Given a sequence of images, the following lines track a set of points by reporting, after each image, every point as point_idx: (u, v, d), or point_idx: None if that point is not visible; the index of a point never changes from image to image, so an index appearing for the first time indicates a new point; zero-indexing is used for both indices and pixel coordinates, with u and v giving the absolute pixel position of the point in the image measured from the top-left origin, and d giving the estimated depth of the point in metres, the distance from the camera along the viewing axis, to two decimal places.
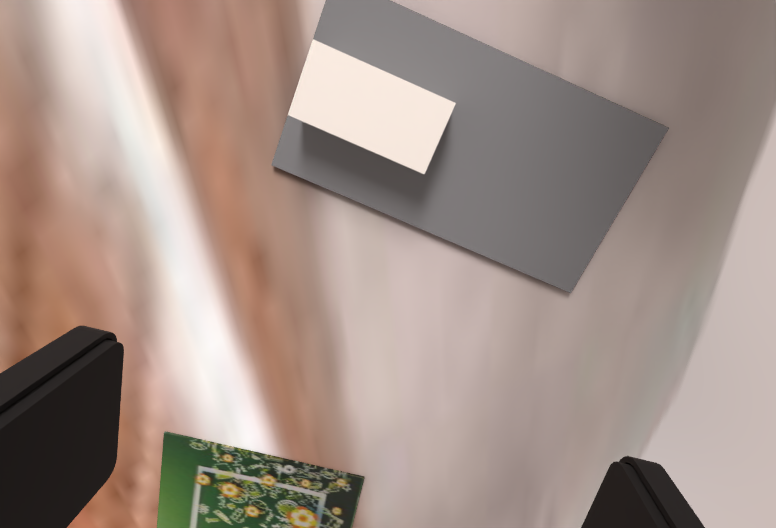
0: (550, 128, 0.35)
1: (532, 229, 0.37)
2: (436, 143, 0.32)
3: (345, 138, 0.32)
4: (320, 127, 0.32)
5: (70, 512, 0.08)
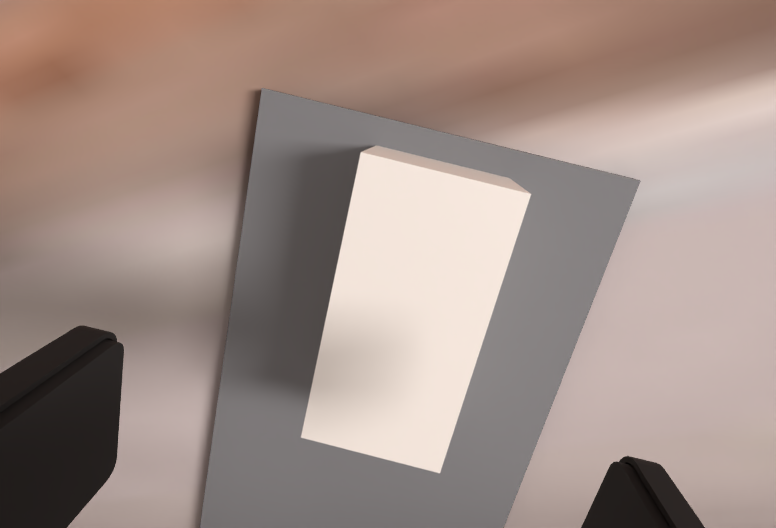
0: None
1: None
2: (362, 450, 0.16)
3: (335, 284, 0.15)
4: (347, 229, 0.14)
5: (70, 512, 0.08)
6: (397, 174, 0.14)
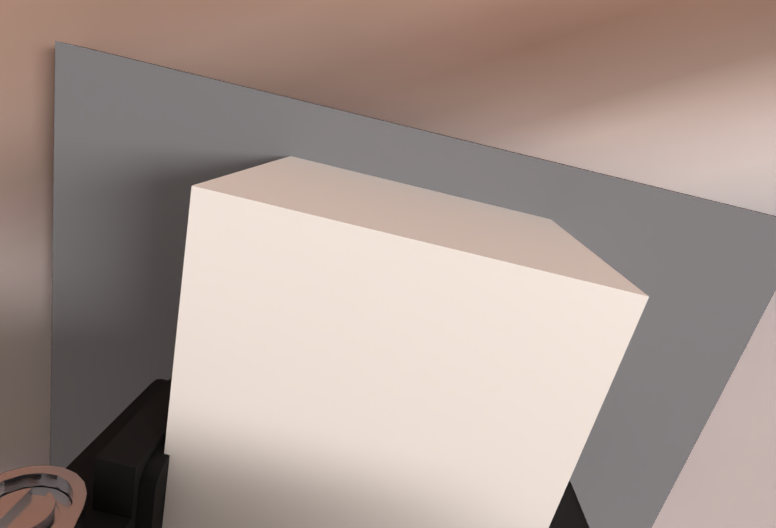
0: None
1: None
2: None
3: (167, 492, 0.06)
4: (180, 375, 0.06)
5: None
6: (293, 244, 0.05)
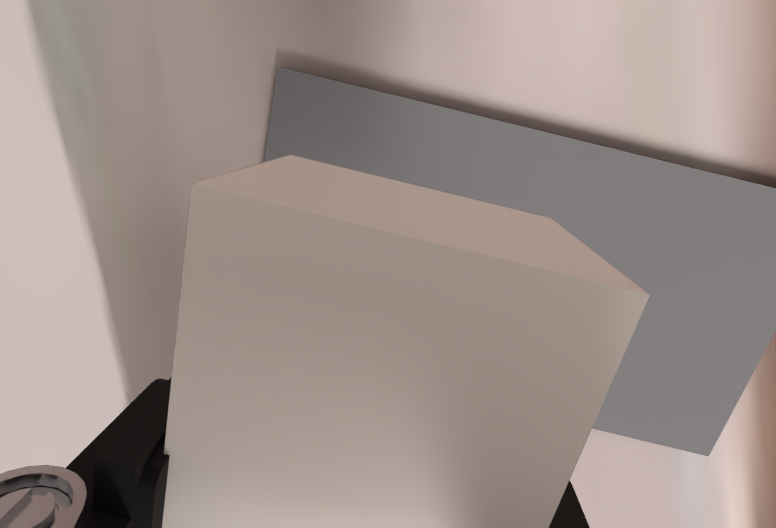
0: None
1: (376, 171, 0.22)
2: None
3: (167, 491, 0.06)
4: (179, 374, 0.06)
5: None
6: (293, 242, 0.05)
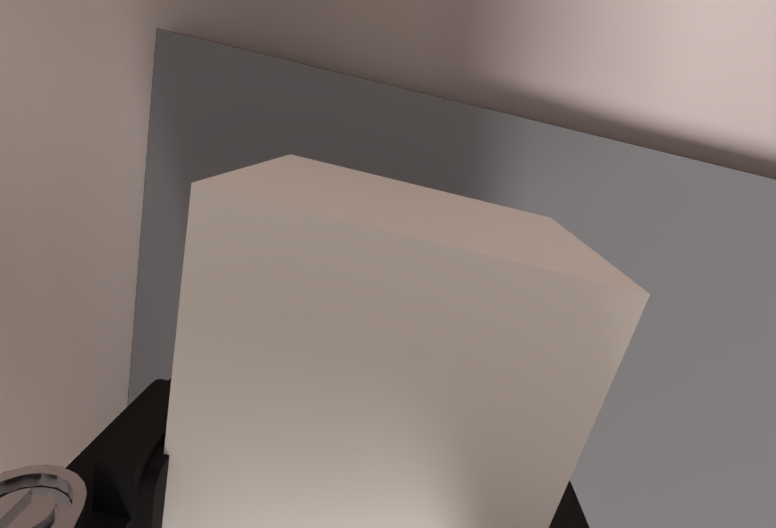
0: None
1: None
2: None
3: (167, 490, 0.06)
4: (179, 373, 0.06)
5: None
6: (293, 241, 0.05)
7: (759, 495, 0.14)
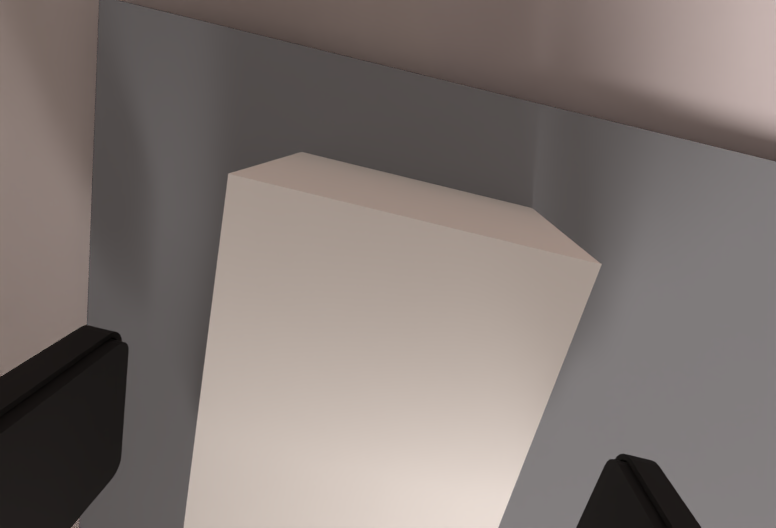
0: None
1: None
2: None
3: (201, 435, 0.07)
4: (214, 333, 0.07)
5: (76, 510, 0.08)
6: (310, 221, 0.06)
7: None
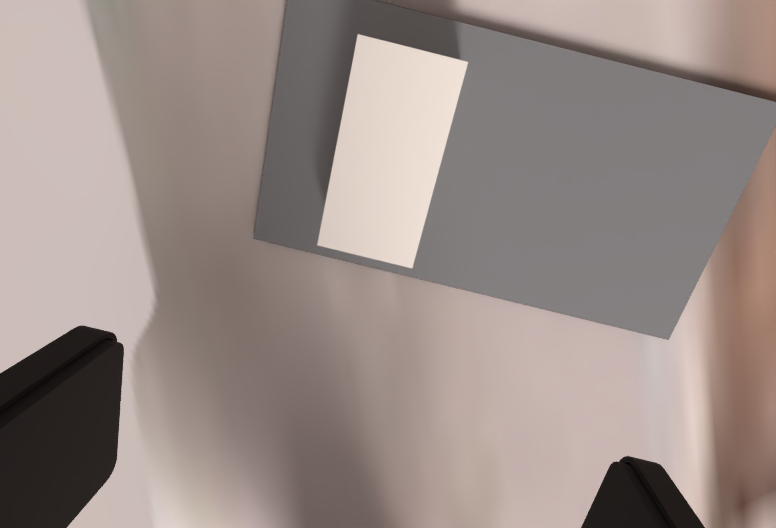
0: None
1: None
2: (359, 253, 0.24)
3: (341, 129, 0.22)
4: (349, 89, 0.22)
5: (70, 512, 0.08)
6: (381, 49, 0.21)
7: (591, 230, 0.27)
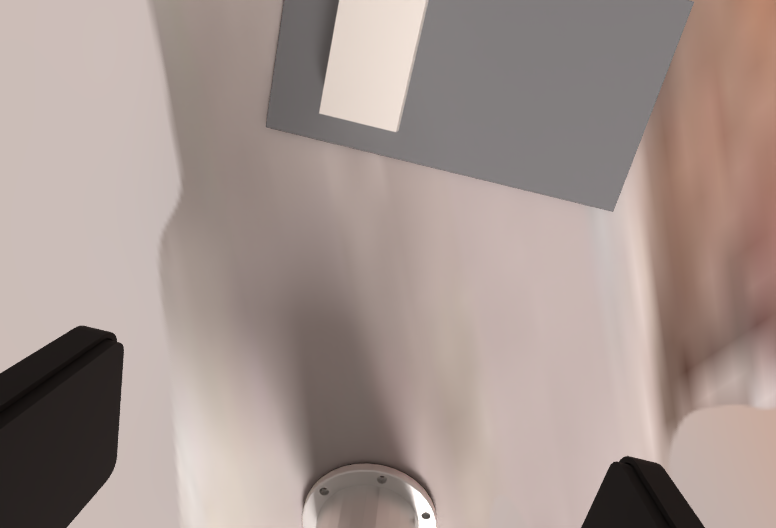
0: None
1: None
2: (352, 120, 0.30)
3: (338, 12, 0.28)
4: None
5: (70, 512, 0.08)
6: None
7: (544, 114, 0.33)
